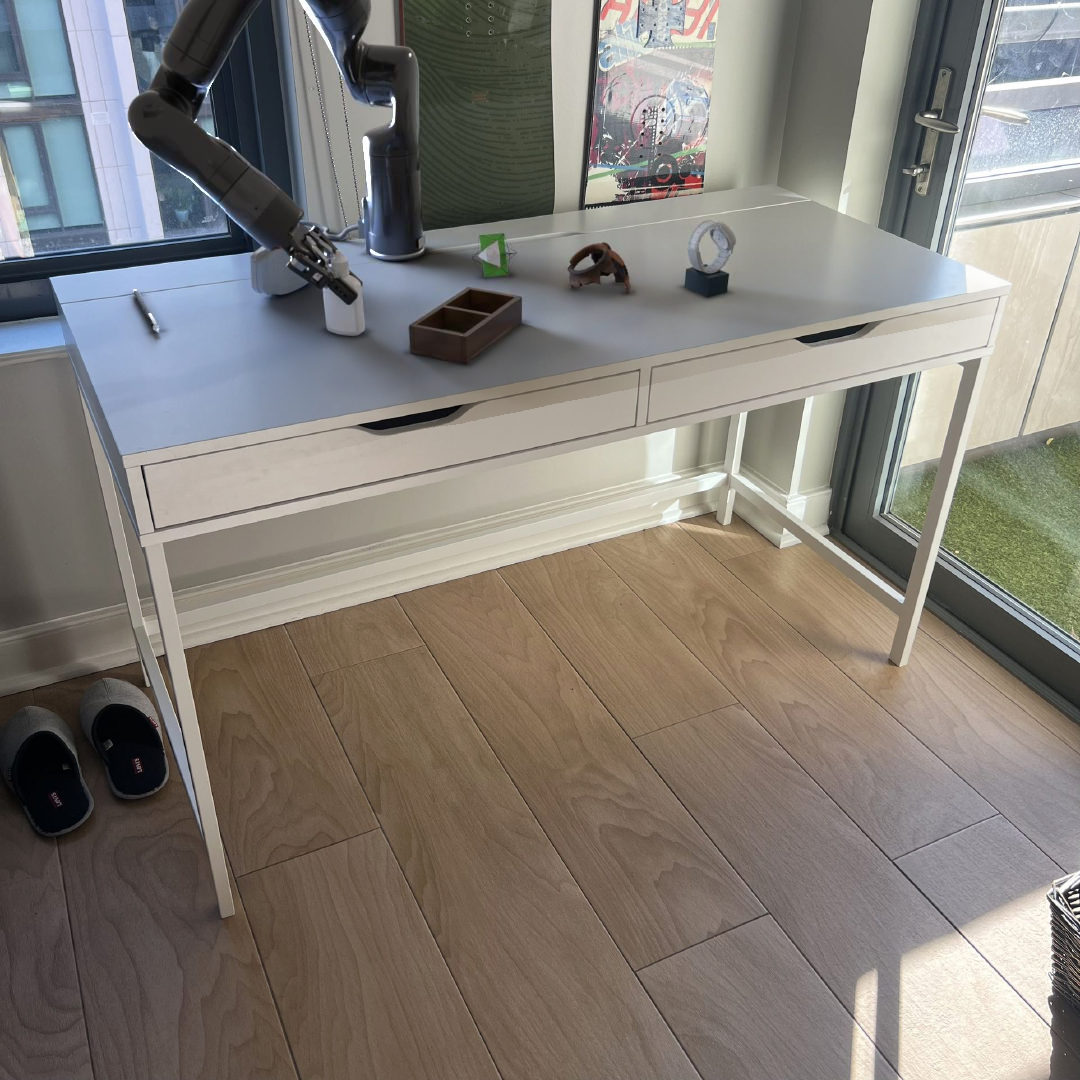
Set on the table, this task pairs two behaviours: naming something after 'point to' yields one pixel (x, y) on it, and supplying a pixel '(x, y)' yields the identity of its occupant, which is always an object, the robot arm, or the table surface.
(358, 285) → the eye dropper bottle
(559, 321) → the table surface
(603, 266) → the broken clay pot
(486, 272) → the geometric puzzle
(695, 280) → the watch
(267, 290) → the white plastic case
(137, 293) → the pen
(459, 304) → the brown wooden divided tray
